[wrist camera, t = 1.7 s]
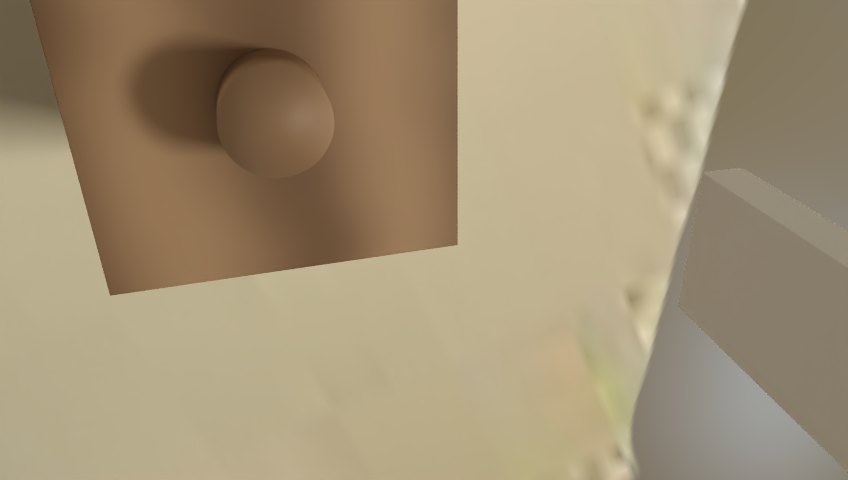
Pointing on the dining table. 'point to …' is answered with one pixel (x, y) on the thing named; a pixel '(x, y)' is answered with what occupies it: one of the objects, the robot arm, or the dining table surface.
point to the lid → (256, 131)
